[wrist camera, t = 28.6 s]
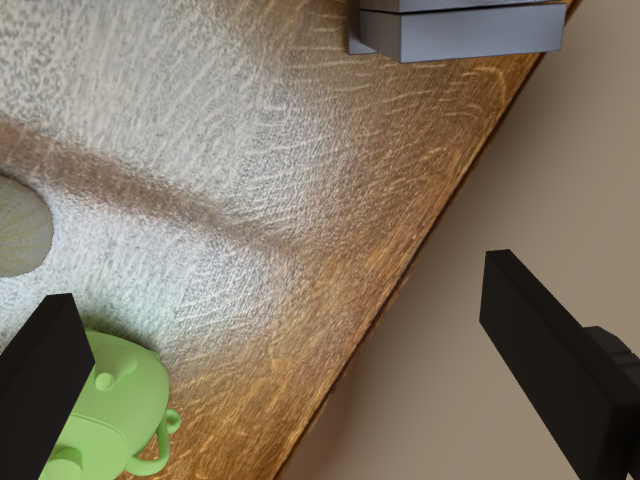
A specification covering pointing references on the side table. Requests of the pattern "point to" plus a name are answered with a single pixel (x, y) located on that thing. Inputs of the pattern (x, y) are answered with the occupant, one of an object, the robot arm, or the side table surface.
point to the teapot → (115, 415)
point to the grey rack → (452, 28)
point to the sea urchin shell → (22, 229)
